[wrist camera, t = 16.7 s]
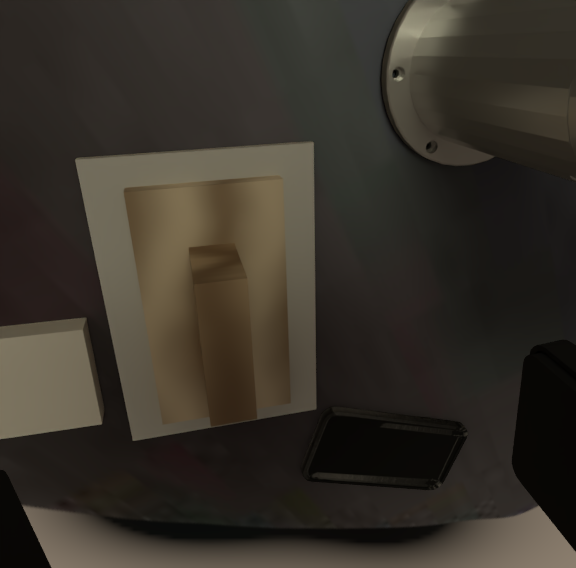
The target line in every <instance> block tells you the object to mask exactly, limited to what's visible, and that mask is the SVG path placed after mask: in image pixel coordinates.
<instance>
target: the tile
mask: <svg viewBox="0 0 576 568" xmlns="http://www.w3.org/2000/svg"><path fill="white" fill-rule="evenodd" d="M103 415H104V404H103V399H102V394H101V389H100V384H99V379H98V374H97V369H96V364H95V359H94V354H93V349H92V344H91V339H90V334H89V329H88V324H87V319H86V318H76V319H67V320H58V321H49V322H40V323H30V324H21V325H12V326H3V327H0V439H5V438H12V437H18V436H25V435H32V434H39V433H46V432H52V431H59V430H66V429H73V428H80V427H86V426H93V425H100V424H102V421H103Z"/></svg>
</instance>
